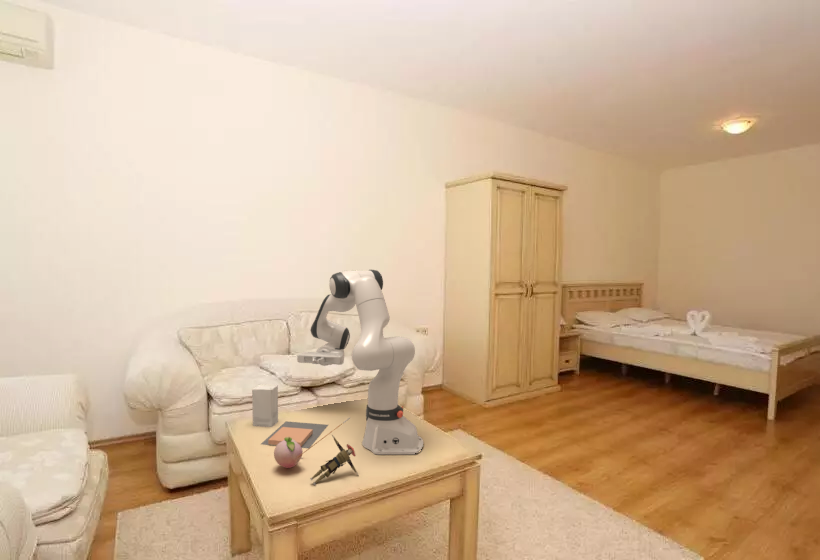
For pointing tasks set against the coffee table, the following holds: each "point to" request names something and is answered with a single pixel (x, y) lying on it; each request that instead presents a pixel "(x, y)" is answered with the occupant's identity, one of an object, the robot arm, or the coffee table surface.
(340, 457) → the samurai figurine
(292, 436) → the tile
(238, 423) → the coffee table surface
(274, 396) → the skincare box
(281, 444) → the decorative fruit
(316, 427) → the mat
